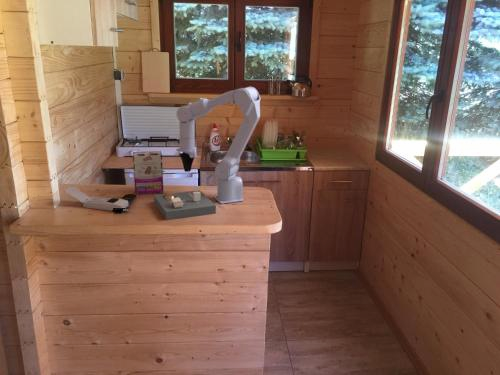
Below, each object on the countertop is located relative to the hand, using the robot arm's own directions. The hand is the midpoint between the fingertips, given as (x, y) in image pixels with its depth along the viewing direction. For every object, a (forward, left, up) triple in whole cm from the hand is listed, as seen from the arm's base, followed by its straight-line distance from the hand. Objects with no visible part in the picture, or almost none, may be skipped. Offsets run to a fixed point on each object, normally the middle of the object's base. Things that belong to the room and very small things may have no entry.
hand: (187, 171), depth 166 cm
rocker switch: (+10, +20, -5) cm, 23 cm away
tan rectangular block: (+2, +18, -6) cm, 19 cm away
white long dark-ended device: (+34, +3, -10) cm, 36 cm away
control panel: (+6, +15, -9) cm, 19 cm away
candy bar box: (+14, -7, -10) cm, 18 cm away
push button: (+10, +10, -9) cm, 17 cm away
